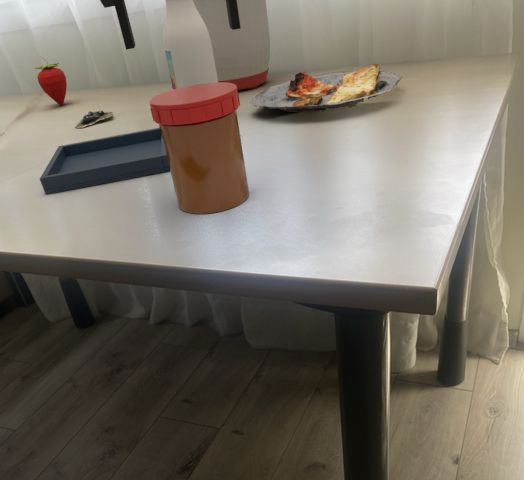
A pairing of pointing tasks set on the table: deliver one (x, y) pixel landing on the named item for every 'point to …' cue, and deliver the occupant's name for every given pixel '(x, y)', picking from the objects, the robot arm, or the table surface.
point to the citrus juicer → (238, 41)
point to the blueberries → (93, 118)
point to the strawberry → (53, 82)
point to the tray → (105, 161)
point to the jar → (206, 164)
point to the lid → (194, 103)
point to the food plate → (327, 90)
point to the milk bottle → (187, 45)
